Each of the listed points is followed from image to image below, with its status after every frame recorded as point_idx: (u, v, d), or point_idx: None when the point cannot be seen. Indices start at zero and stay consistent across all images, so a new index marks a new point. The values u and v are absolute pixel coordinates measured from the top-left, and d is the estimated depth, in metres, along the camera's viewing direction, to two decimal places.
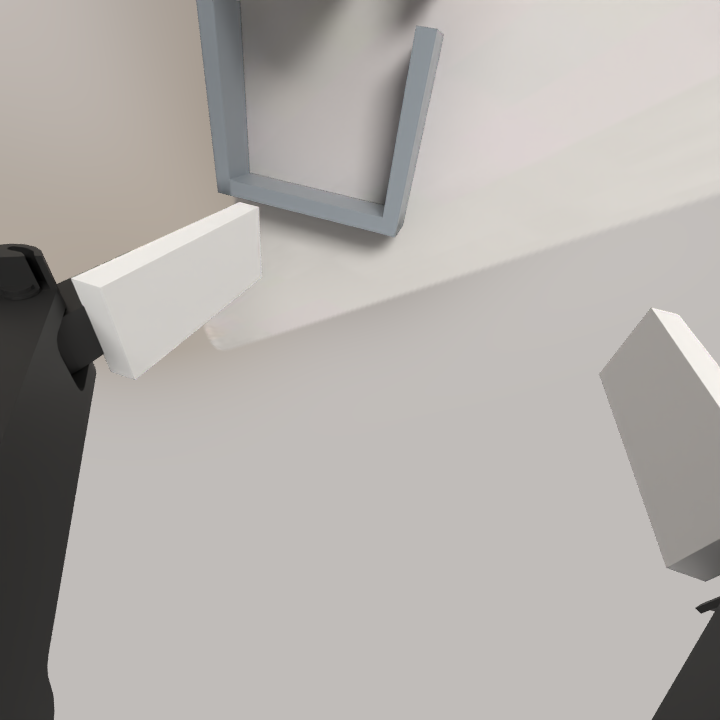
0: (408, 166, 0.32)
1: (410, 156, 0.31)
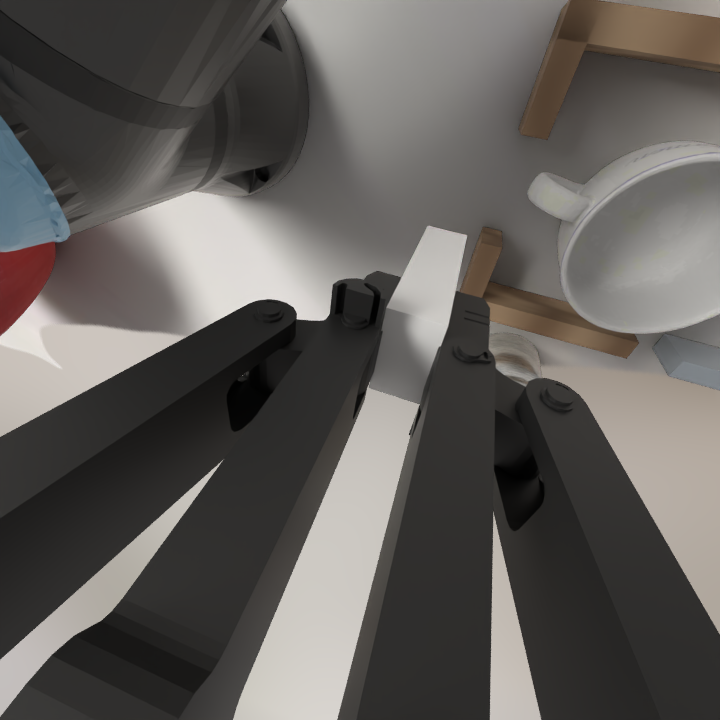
0: None
1: None
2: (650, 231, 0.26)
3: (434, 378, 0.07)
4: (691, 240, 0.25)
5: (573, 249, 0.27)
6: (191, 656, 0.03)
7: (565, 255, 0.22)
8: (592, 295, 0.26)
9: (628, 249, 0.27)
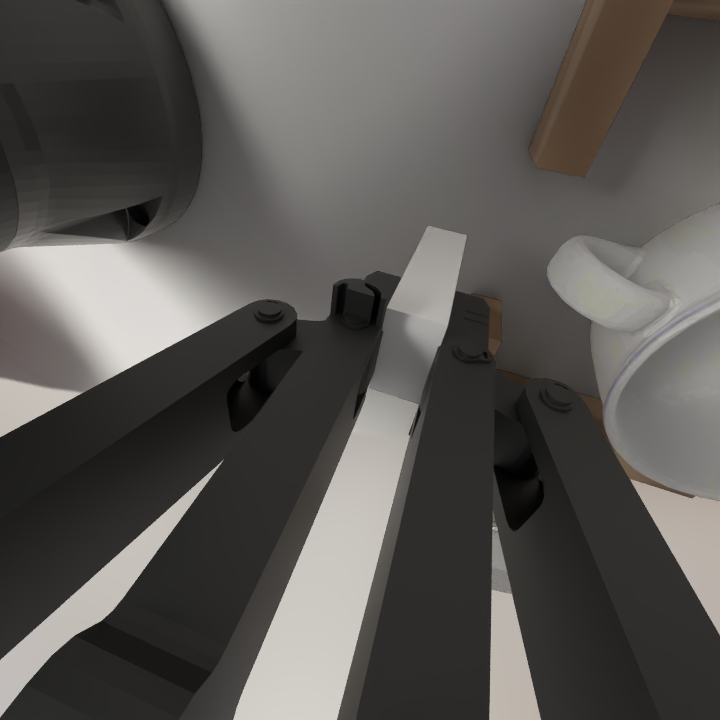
0: None
1: None
2: None
3: (434, 378, 0.07)
4: None
5: None
6: (191, 656, 0.03)
7: (616, 387, 0.12)
8: (646, 416, 0.16)
9: (702, 340, 0.17)
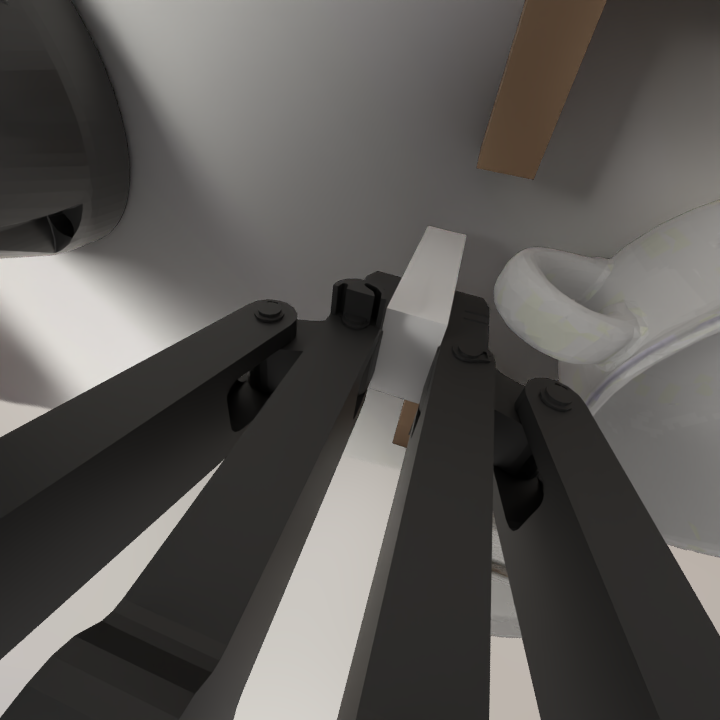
0: None
1: None
2: None
3: (433, 378, 0.07)
4: None
5: None
6: (192, 656, 0.03)
7: None
8: (623, 449, 0.14)
9: (687, 361, 0.15)
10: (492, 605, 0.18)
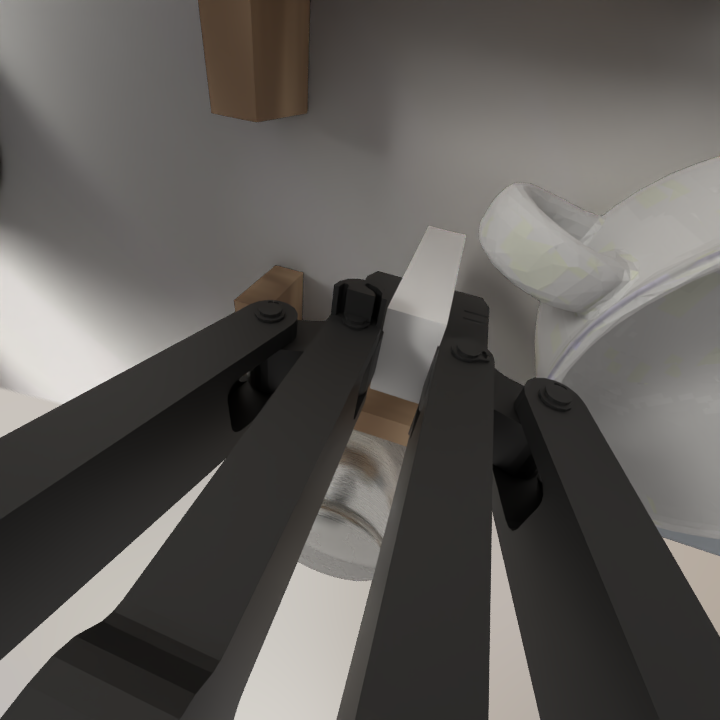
0: None
1: None
2: (709, 316, 0.13)
3: (433, 378, 0.07)
4: None
5: None
6: (192, 657, 0.03)
7: None
8: None
9: (661, 340, 0.15)
10: (335, 545, 0.19)
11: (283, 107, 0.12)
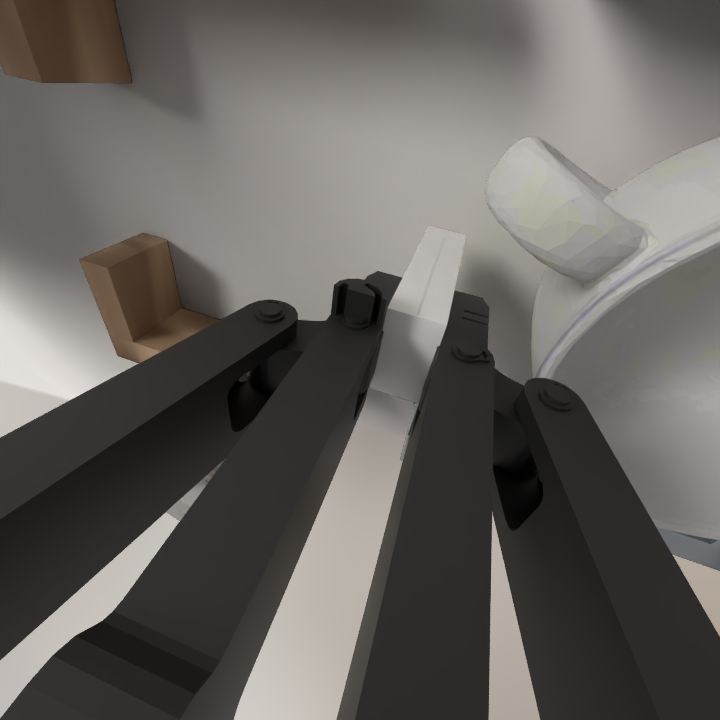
0: None
1: None
2: (710, 310, 0.13)
3: (433, 378, 0.07)
4: None
5: None
6: (192, 657, 0.03)
7: (551, 361, 0.09)
8: None
9: (658, 333, 0.14)
10: None
11: (86, 73, 0.14)
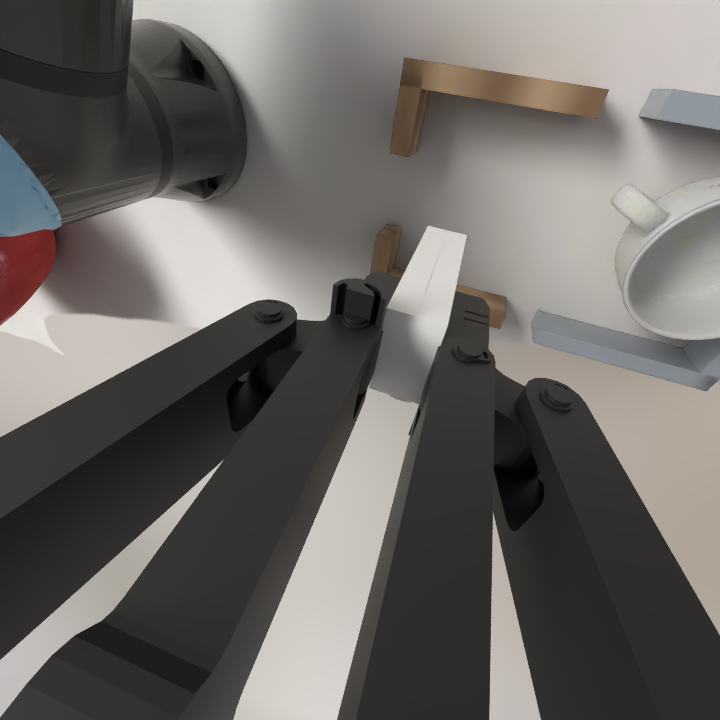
0: None
1: None
2: (696, 252, 0.29)
3: (434, 378, 0.07)
4: None
5: None
6: (192, 656, 0.03)
7: (635, 260, 0.25)
8: (638, 301, 0.30)
9: (673, 265, 0.30)
10: None
11: (413, 149, 0.30)
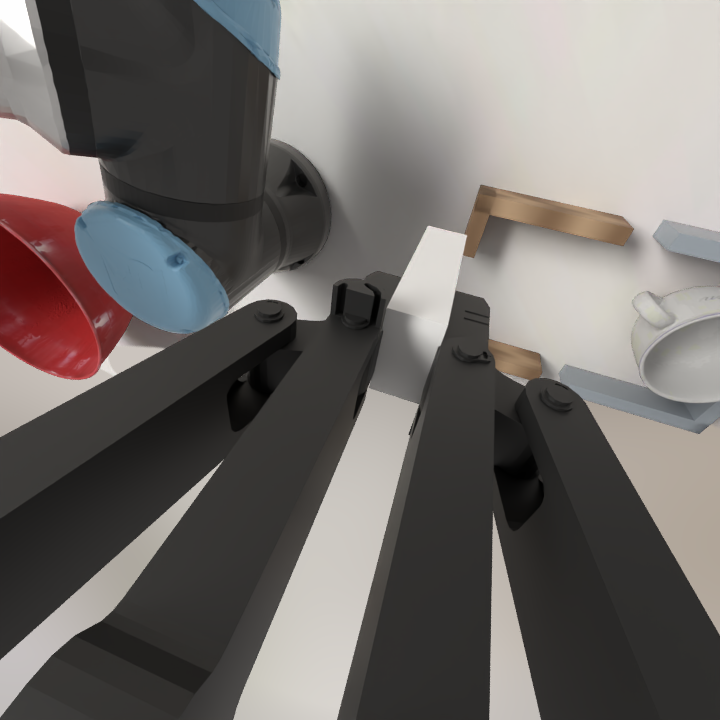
0: None
1: None
2: (693, 332, 0.38)
3: (433, 378, 0.07)
4: (717, 343, 0.38)
5: None
6: (191, 656, 0.03)
7: (650, 348, 0.34)
8: (648, 368, 0.39)
9: (675, 340, 0.39)
10: None
11: None
